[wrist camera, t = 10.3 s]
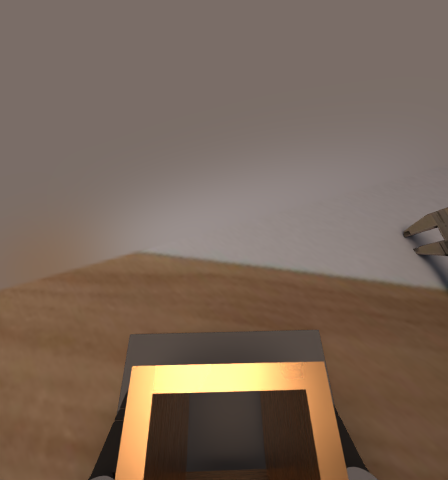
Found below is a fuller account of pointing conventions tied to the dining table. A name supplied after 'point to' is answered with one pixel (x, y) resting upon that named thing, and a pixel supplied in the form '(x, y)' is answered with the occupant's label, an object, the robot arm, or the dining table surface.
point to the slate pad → (223, 403)
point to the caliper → (440, 219)
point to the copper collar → (273, 420)
